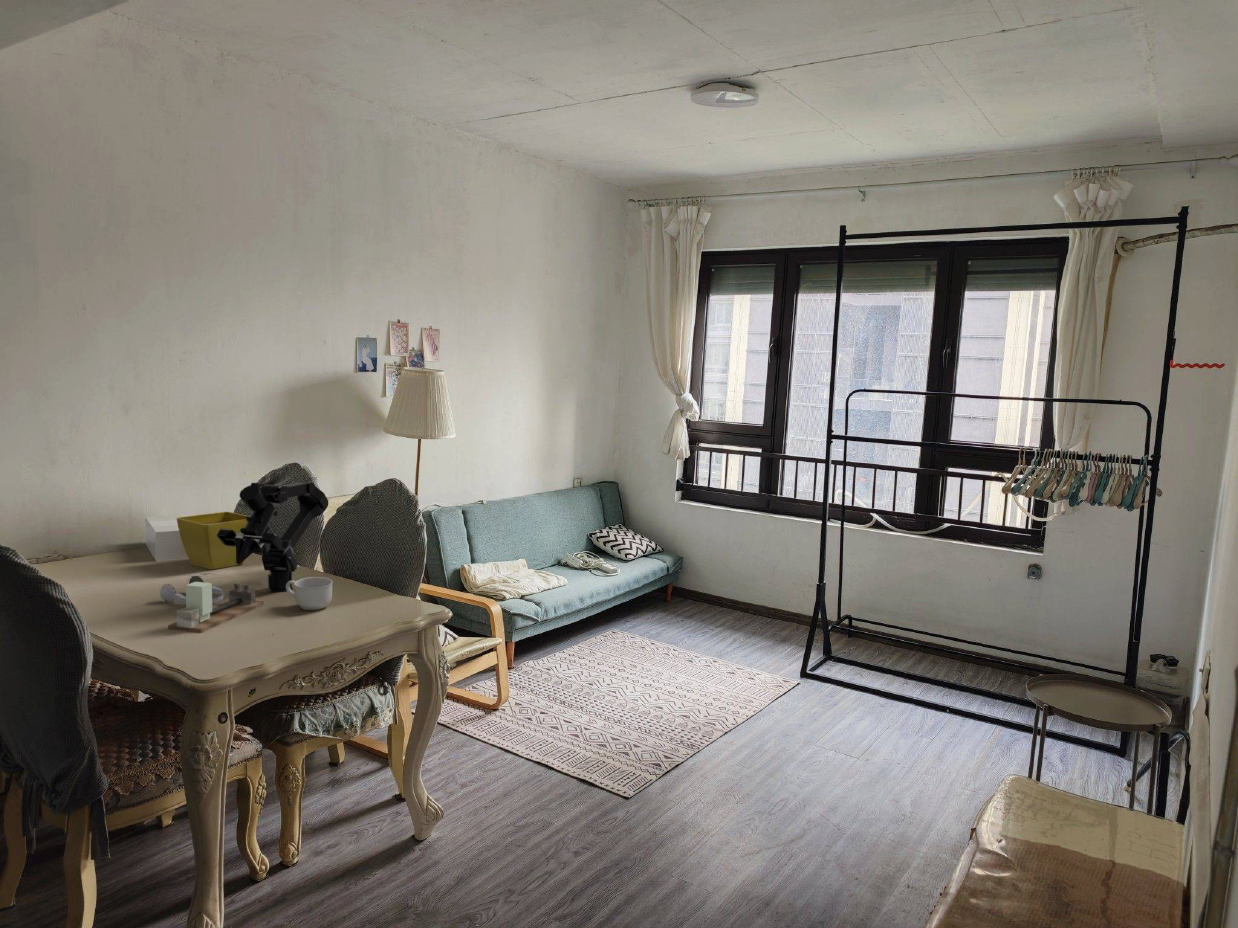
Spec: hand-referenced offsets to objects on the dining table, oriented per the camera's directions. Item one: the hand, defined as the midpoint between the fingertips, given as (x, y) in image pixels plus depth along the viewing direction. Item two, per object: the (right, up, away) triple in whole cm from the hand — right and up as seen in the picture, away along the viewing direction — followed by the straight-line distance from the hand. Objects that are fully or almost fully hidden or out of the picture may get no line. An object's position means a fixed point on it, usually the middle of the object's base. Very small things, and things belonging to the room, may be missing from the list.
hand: (237, 563), depth 248 cm
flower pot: (-30, -6, +50) cm, 59 cm away
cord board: (-2, -14, -7) cm, 16 cm away
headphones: (-18, -12, +10) cm, 23 cm away
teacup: (+19, -14, +6) cm, 24 cm away
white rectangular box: (-56, -4, +67) cm, 87 cm away
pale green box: (-4, -14, -15) cm, 21 cm away
